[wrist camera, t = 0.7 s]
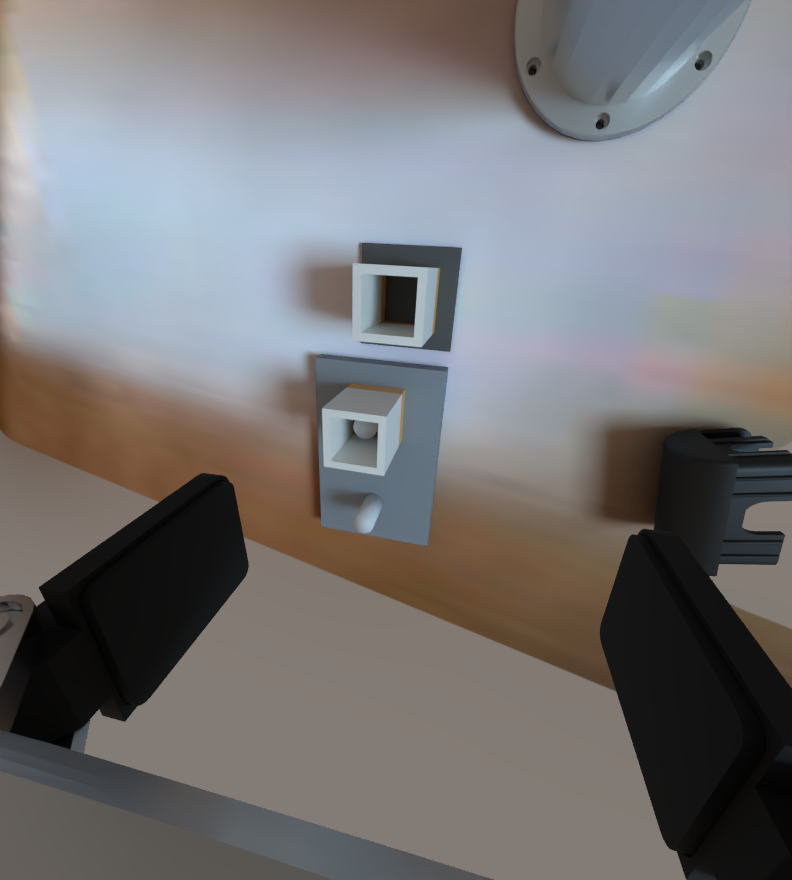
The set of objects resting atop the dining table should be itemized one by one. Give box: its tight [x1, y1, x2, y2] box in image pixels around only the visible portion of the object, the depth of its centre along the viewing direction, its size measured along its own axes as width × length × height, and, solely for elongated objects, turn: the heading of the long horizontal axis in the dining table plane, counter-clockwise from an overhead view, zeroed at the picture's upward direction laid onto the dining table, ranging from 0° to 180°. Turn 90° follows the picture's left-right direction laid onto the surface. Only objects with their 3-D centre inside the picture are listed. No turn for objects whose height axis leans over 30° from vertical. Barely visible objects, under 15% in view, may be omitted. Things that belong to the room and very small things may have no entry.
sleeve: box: [352, 263, 440, 347], centre depth 28 cm, size 5×5×7 cm
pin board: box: [315, 354, 448, 546], centre depth 36 cm, size 19×12×6 cm, turn 177°
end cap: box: [654, 428, 792, 576], centre depth 30 cm, size 10×7×7 cm
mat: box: [361, 243, 462, 352], centre depth 32 cm, size 8×8×1 cm
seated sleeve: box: [322, 383, 405, 476], centre depth 32 cm, size 5×5×7 cm
